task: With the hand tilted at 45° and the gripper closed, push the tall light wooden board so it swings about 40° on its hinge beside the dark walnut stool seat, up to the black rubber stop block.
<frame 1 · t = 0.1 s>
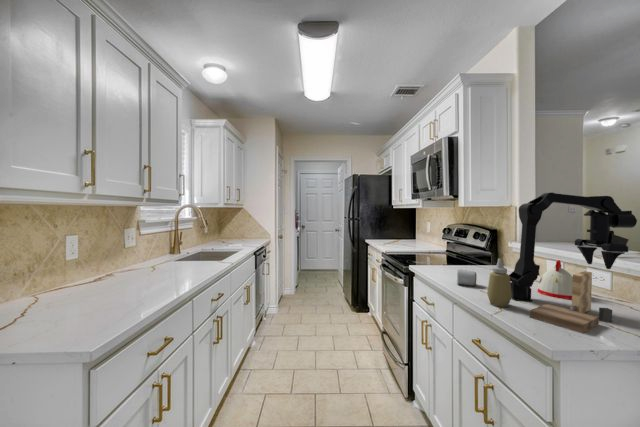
hand: (598, 266, 112), 15 cm above the worktop, tool pointing down, fingers open, 9 cm apart
squeeze bottle: (499, 305, 109), on the worktop
kitchen timer: (557, 294, 123), on the worktop
light wooden board: (580, 293, 101), point 7 cm above the worktop, hinge at 0.0°
ceramic mug: (465, 284, 138), on the worktop
stop block: (605, 320, 95), on the worktop
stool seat: (573, 316, 98), on the worktop
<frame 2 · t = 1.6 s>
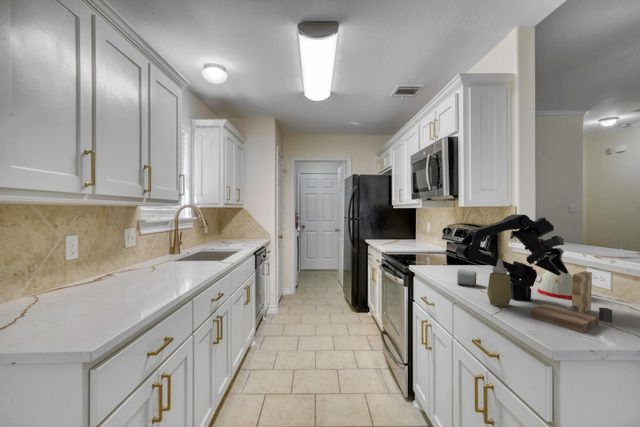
hand: (563, 274, 105), 13 cm above the worktop, tool tilted 45°, fingers open, 6 cm apart
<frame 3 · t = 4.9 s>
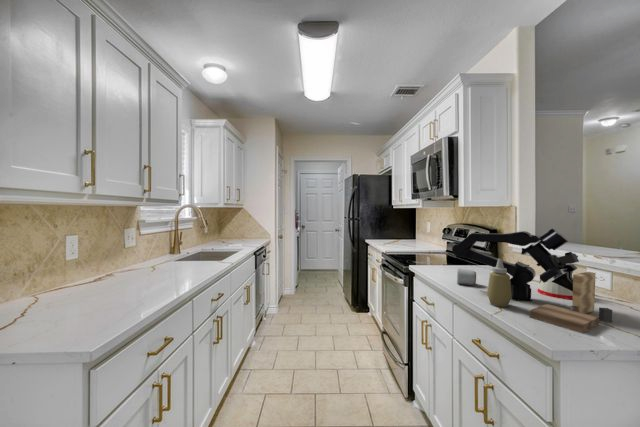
hand: (578, 292, 102), 7 cm above the worktop, tool tilted 45°, fingers closed, pressing on light wooden board
light wooden board: (582, 293, 101), point 7 cm above the worktop, hinge at 4.6°, touching gripper
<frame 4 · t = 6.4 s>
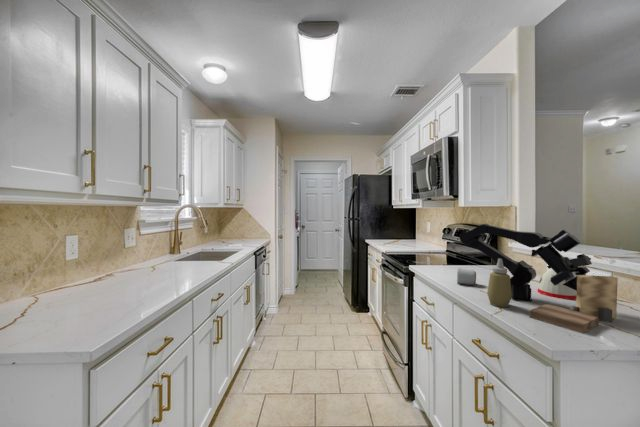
hand: (591, 296, 99), 7 cm above the worktop, tool tilted 45°, fingers closed
light wooden board: (592, 296, 97), point 7 cm above the worktop, hinge at 37.6°, touching gripper
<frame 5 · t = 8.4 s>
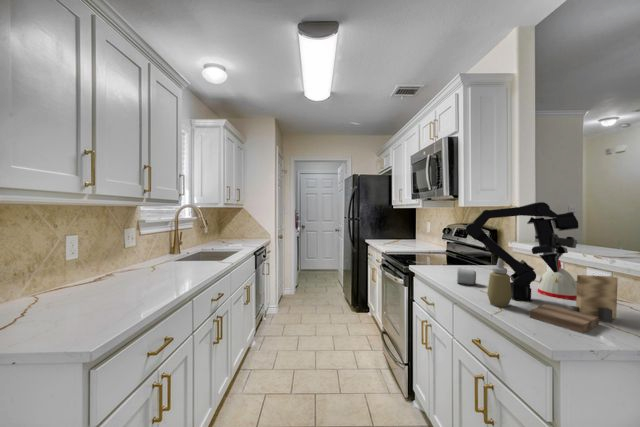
hand: (556, 272, 108), 13 cm above the worktop, tool tilted 15°, fingers closed
light wooden board: (592, 296, 97), point 7 cm above the worktop, hinge at 37.6°
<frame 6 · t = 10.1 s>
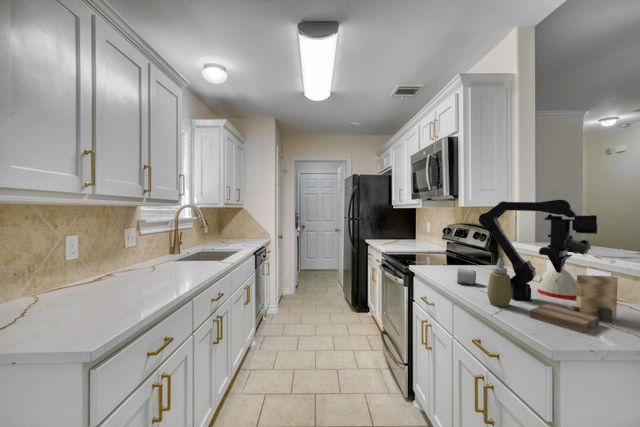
hand: (558, 272, 108), 13 cm above the worktop, tool pointing down, fingers closed
at the end: light wooden board at +38° (first picture: +0°); kitchen timer moved 0.3 cm from its start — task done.
